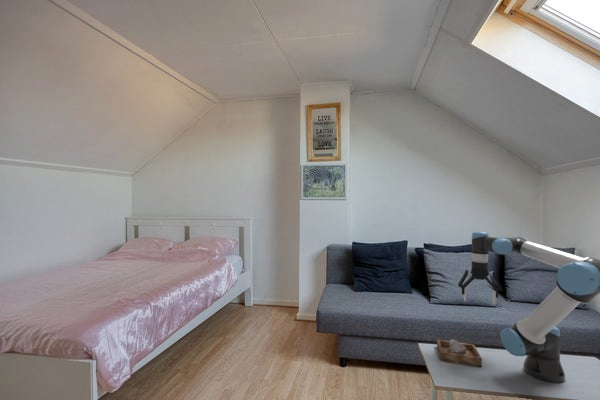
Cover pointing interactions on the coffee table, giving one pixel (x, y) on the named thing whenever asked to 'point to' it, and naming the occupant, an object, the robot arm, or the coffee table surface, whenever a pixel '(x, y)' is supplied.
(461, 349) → the stone
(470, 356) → the tray
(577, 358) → the coffee table surface
